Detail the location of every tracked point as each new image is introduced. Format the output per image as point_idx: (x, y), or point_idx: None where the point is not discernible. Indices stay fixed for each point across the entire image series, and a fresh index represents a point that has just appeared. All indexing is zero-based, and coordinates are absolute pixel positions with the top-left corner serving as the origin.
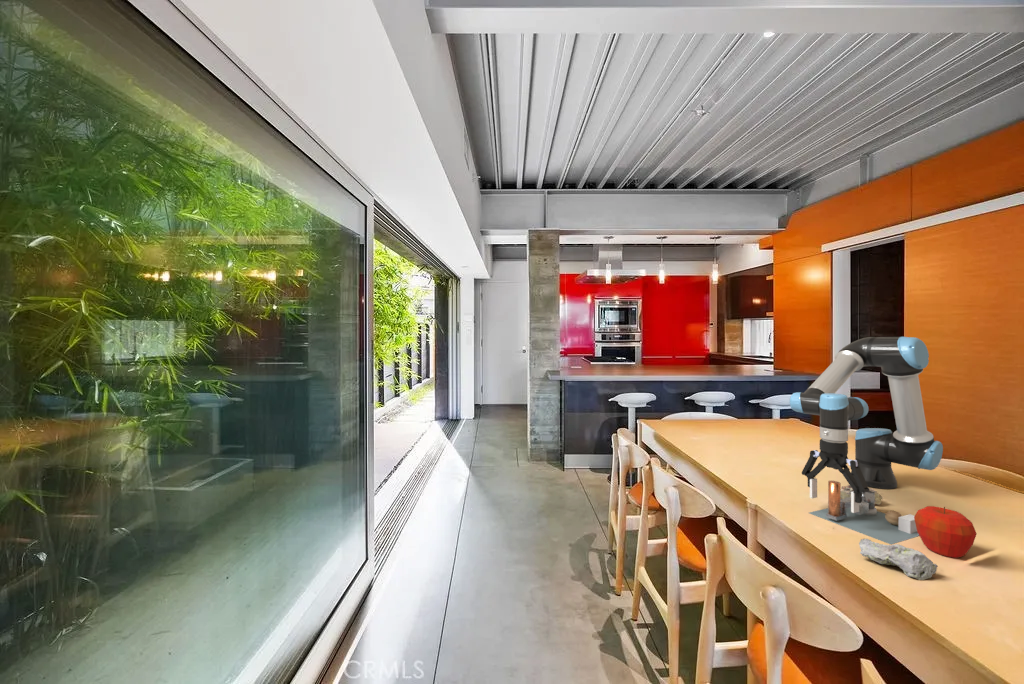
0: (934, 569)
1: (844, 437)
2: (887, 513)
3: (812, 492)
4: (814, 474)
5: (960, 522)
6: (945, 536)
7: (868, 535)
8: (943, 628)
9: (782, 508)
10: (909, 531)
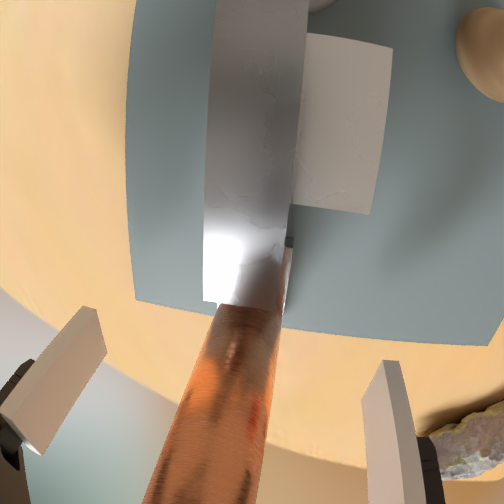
0: None
1: None
2: (494, 72)
3: (86, 377)
4: (22, 489)
5: None
6: None
7: (423, 340)
8: (484, 474)
9: (60, 288)
10: None
